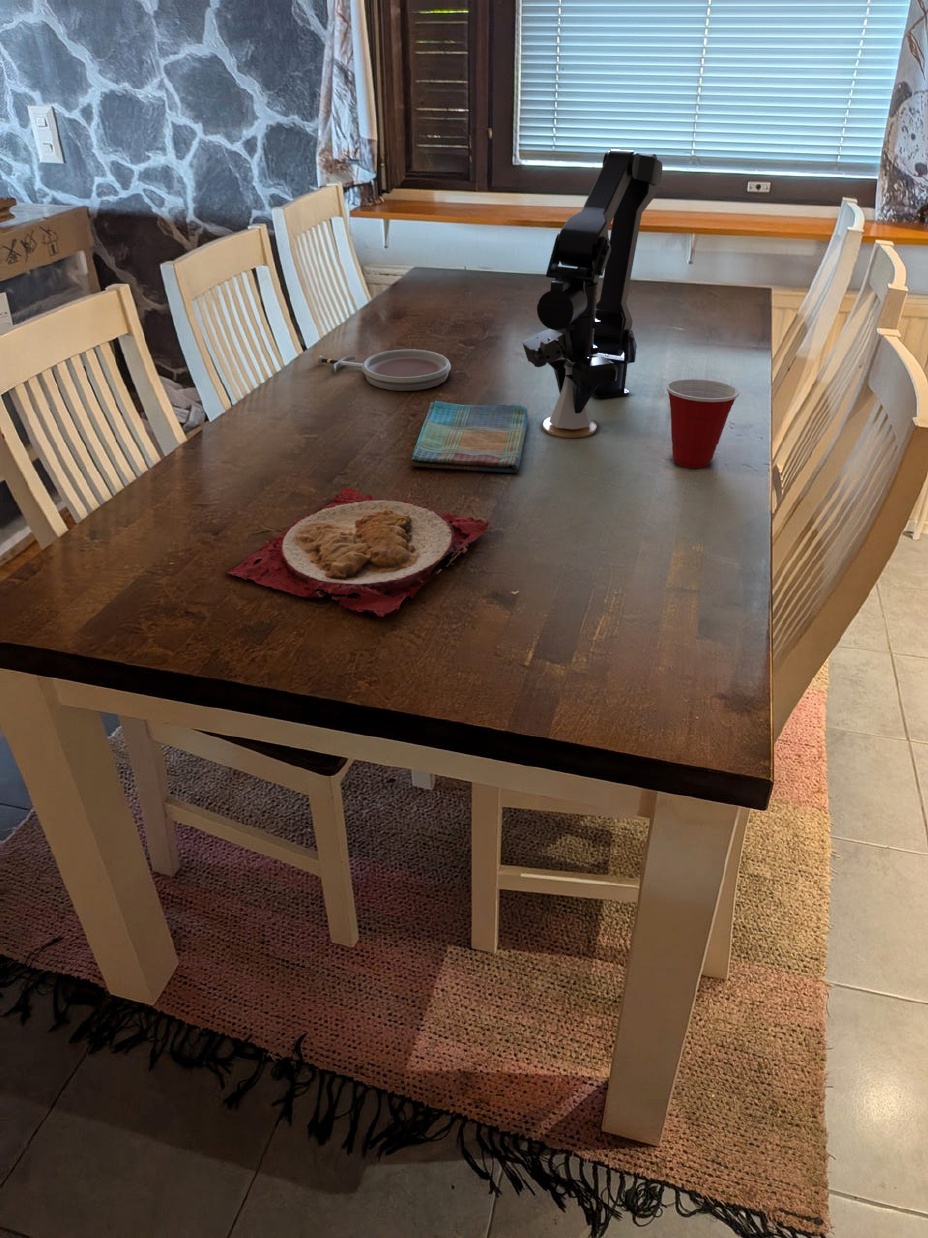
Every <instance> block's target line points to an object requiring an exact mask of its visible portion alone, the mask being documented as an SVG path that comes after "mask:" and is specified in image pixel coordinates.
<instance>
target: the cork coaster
mask: <svg viewBox="0 0 928 1238" xmlns="http://www.w3.org/2000/svg"><path fill="white" fill-rule="evenodd" d="M550 418H551V416H550V417H547V418H546V419H544V420H543V422H542V428H543V430H544V432H546V433H547V434H549V435H552V436H555V437H559V438H566V439H567V438H568V439H576V438H585V437H588V436H591V435H593V434H595V433H596V431H597V427H598V425H597V423H596V422H595V420H593V419H591V423H590V426H589V427H585V428H579V429H565V428H557V427H555V426H554V425H553V424H551V423H550V422H549V420H550Z"/></svg>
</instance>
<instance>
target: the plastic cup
mask: <svg viewBox="0 0 928 1238" xmlns="http://www.w3.org/2000/svg"><path fill="white" fill-rule="evenodd" d="M665 387H666V392H667V393H668V400H669V407H670V408H669V409H670V431H671V432H670V434H671V436H670V437H671V438H670V439H671V446H672V447H671V448H672V449H671V451H672V460H673V462H674V463H675V464H676V465H678V466H680V467H684V468H687V469H702V468H706V467H708V466H709V465H710V464H711V461H712V460H713V458H714V456H715V455H714V454H715V452H716V449H717V446H718V444H719V442H720V440H721V437H722V434H723V432H724V428H725V426H726V422H727V419H728V416H729V413H730V412H731V410H732V407H733V405H734V403H735V401H736V399H737V398H738V397H739V396H740V394H741V392H740V390H739V388H737V387H736V386H733V385H732V384H729V383H726V382H722V381H717V380H711V379H701V378H680V379H675V380H670V381H669V382H668V383H666V384H665Z"/></svg>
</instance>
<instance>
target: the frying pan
mask: <svg viewBox="0 0 928 1238" xmlns="http://www.w3.org/2000/svg"><path fill="white" fill-rule="evenodd" d="M354 360H357V359H356V355H355V354H353V355H348V356H344V357H342V358H341V359H332V358H324V357H323V356H322V355H319V356H317V357H316V359H315V361H316V363H317V364H318V365H319V366H320V365H323V364H329V365H333V370H334V373H337V368H338V367H340V366H344V367H352V368H359V369H361V372H362V373H363V374H364V376H365V378H366V381H367V382H368V383H369V384H370V385H372V386H374V387H376V388H378V389H379V388H380V389H383V390H384V389H385V390H389V391H401V392H406V391H407V392H408V391H409V392H410V391H420V390H427V389H430V388H434V387H438V386H439V385H441V384H443V383H445V381H446V380H447V378H448V376H449V372H450V371H451V369H452V365H451V363H450V360H449V359H448V358H447V357H445V355H443V354H441V353H437V352H435V351H429V350H425V349H412V348H411V349H410V348H409V349H395V350H394V349H393V350H386V351H383V352H379V353H375V354H373V355H370V356H369V357H367V358H366V359H365V360H364V362H363V363H362V362H353V361H354Z"/></svg>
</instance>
